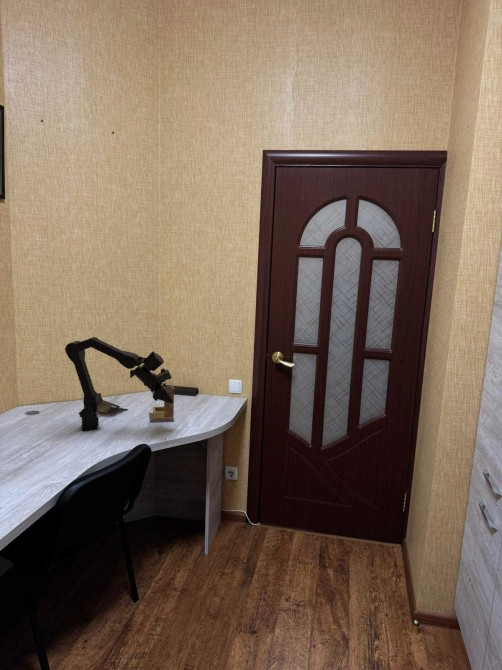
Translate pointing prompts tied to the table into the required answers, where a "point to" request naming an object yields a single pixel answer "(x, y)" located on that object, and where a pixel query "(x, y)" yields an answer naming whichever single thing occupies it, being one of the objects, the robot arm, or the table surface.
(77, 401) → the table surface
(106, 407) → the wall
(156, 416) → the gold square frame
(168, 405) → the rail post
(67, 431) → the table surface
